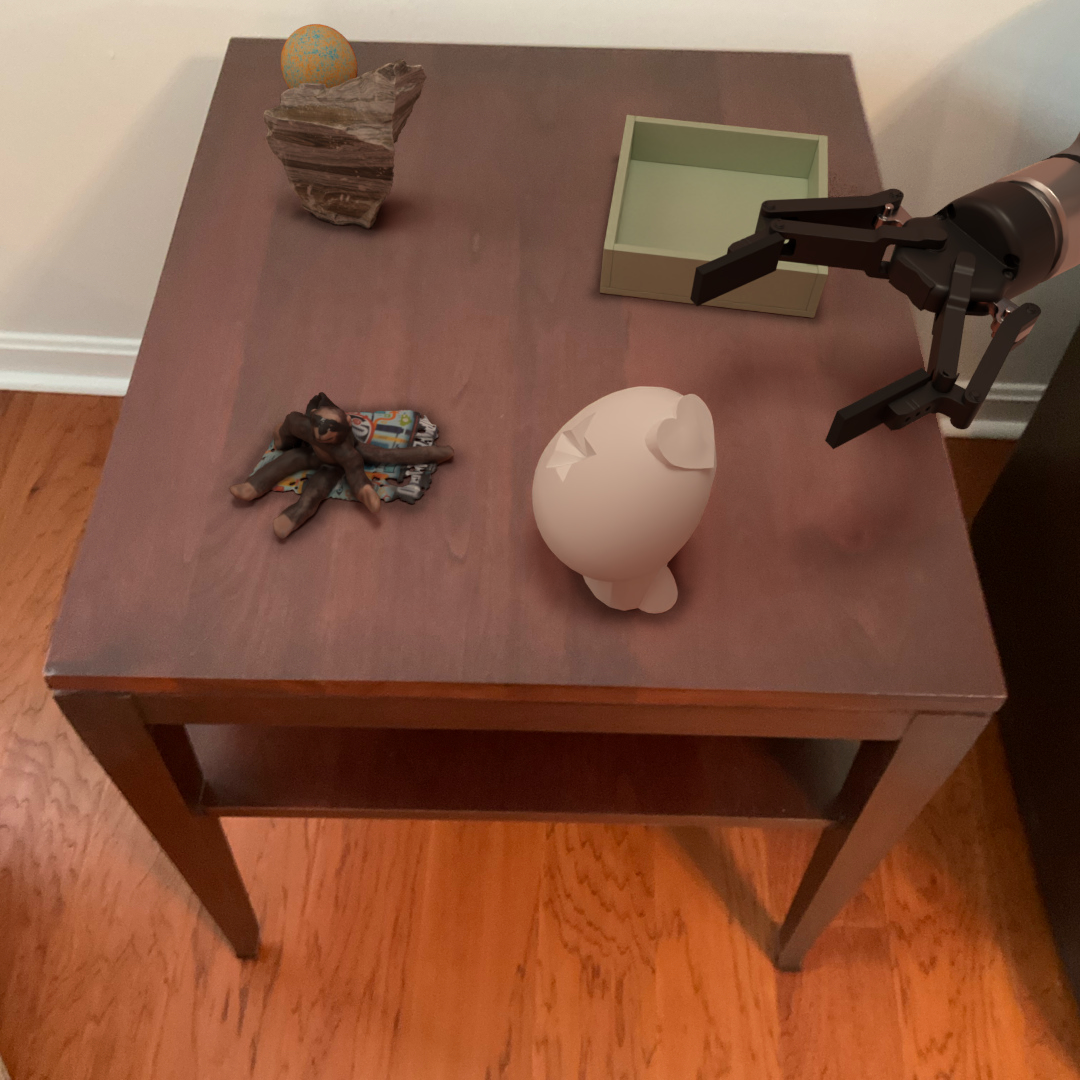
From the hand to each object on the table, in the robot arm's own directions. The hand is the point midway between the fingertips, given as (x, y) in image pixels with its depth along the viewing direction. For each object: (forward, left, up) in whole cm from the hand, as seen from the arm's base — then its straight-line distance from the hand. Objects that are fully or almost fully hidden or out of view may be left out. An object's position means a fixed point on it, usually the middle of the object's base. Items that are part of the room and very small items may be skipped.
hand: (761, 355), depth 62 cm
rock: (+33, -25, -14) cm, 44 cm away
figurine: (+7, +6, -14) cm, 17 cm away
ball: (+40, -40, -14) cm, 59 cm away
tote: (+2, -27, -14) cm, 31 cm away
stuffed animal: (+27, +3, -14) cm, 31 cm away
